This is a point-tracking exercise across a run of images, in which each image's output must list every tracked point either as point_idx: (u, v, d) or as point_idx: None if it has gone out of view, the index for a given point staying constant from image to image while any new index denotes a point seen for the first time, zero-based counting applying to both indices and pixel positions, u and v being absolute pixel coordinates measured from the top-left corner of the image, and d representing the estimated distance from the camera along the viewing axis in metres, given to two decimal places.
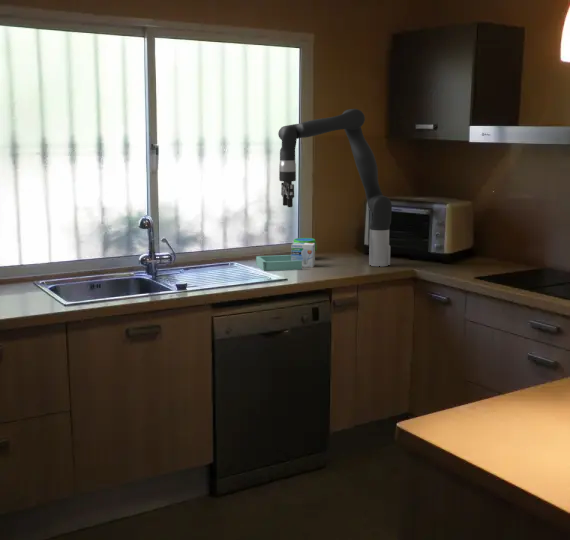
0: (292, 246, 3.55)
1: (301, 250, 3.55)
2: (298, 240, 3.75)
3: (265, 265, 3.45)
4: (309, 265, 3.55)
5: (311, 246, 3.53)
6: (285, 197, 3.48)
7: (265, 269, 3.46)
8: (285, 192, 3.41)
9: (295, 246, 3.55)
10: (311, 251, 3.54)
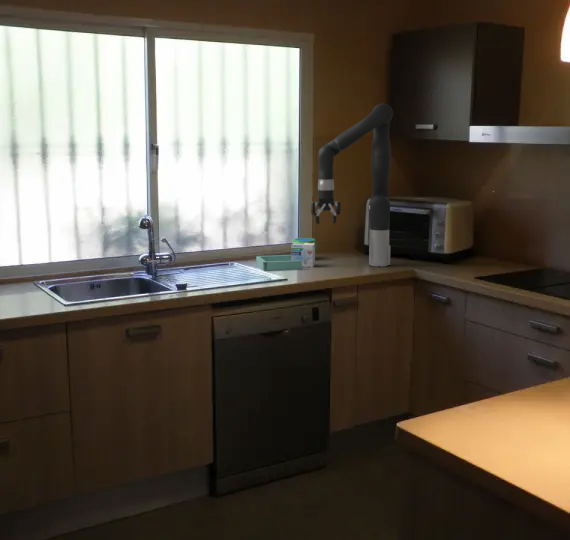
0: (292, 246, 3.55)
1: (301, 250, 3.55)
2: (298, 240, 3.75)
3: (265, 265, 3.45)
4: (309, 265, 3.55)
5: (311, 246, 3.53)
6: None
7: (265, 269, 3.46)
8: (332, 209, 3.56)
9: (295, 246, 3.55)
10: (311, 251, 3.54)
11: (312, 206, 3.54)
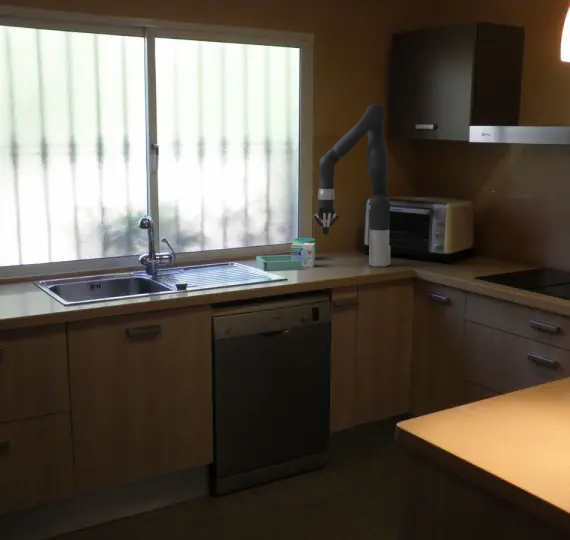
0: (292, 246, 3.55)
1: (301, 250, 3.55)
2: (298, 240, 3.75)
3: (265, 265, 3.45)
4: (309, 265, 3.55)
5: (311, 246, 3.53)
6: None
7: (265, 269, 3.46)
8: (328, 219, 3.56)
9: (295, 246, 3.55)
10: (311, 251, 3.54)
11: (315, 219, 3.56)
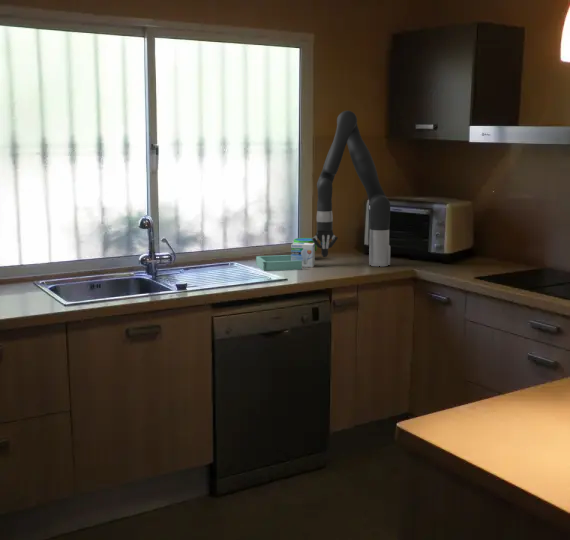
0: (292, 246, 3.55)
1: (301, 250, 3.54)
2: (298, 240, 3.75)
3: (265, 265, 3.45)
4: (309, 265, 3.55)
5: (311, 246, 3.53)
6: None
7: (265, 269, 3.46)
8: (327, 241, 3.58)
9: (295, 246, 3.55)
10: (311, 251, 3.54)
11: (314, 242, 3.57)
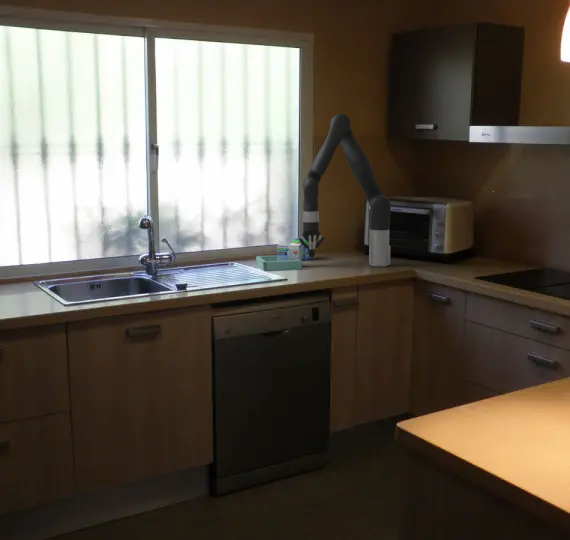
0: (278, 246, 3.54)
1: (287, 251, 3.53)
2: (298, 240, 3.75)
3: (265, 265, 3.45)
4: None
5: (297, 246, 3.52)
6: None
7: (265, 269, 3.46)
8: (313, 242, 3.56)
9: (281, 246, 3.53)
10: (297, 251, 3.52)
11: (301, 242, 3.56)
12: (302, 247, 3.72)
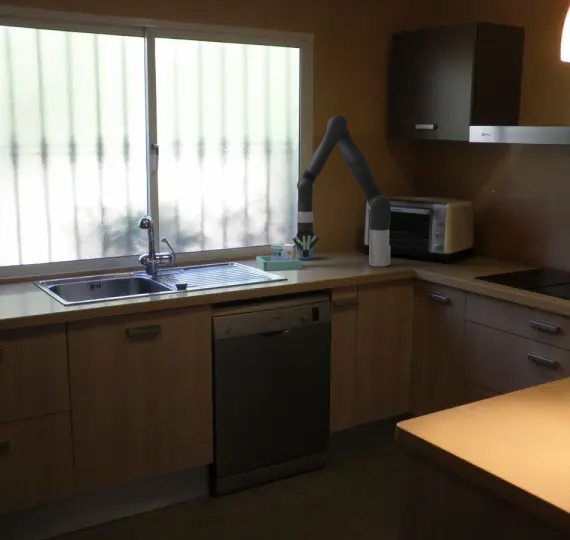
0: (272, 247, 3.53)
1: (281, 251, 3.52)
2: (298, 240, 3.75)
3: (265, 265, 3.45)
4: None
5: (291, 247, 3.51)
6: None
7: (265, 269, 3.46)
8: (308, 242, 3.56)
9: (275, 247, 3.53)
10: (291, 252, 3.52)
11: (295, 242, 3.55)
12: None
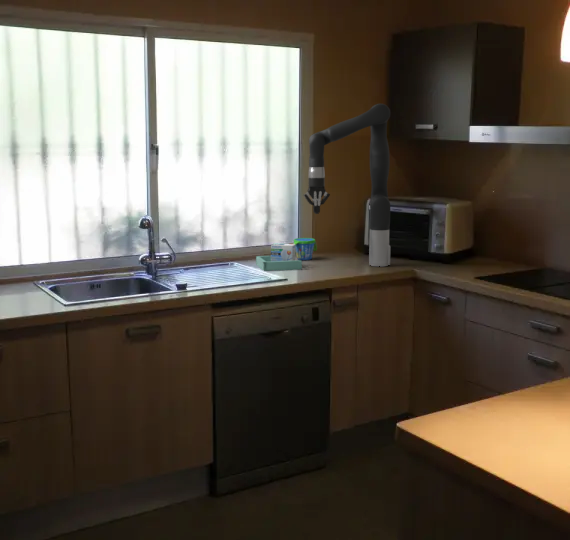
0: (272, 247, 3.53)
1: (281, 251, 3.52)
2: (298, 240, 3.75)
3: (265, 265, 3.45)
4: None
5: (291, 247, 3.51)
6: None
7: (265, 269, 3.46)
8: (319, 198, 3.53)
9: (275, 247, 3.53)
10: (291, 252, 3.52)
11: (306, 198, 3.53)
12: (302, 247, 3.72)
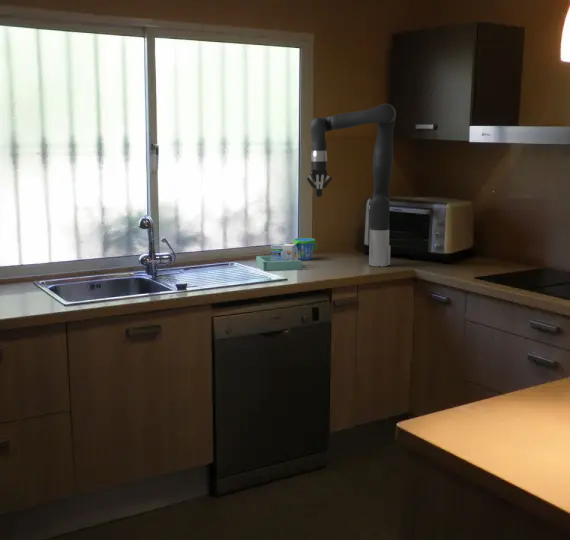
0: (272, 247, 3.53)
1: (281, 251, 3.52)
2: (298, 240, 3.75)
3: (265, 265, 3.45)
4: None
5: (291, 247, 3.51)
6: None
7: (265, 269, 3.46)
8: (321, 181, 3.60)
9: (275, 247, 3.53)
10: (291, 252, 3.52)
11: (308, 181, 3.59)
12: (302, 247, 3.72)
